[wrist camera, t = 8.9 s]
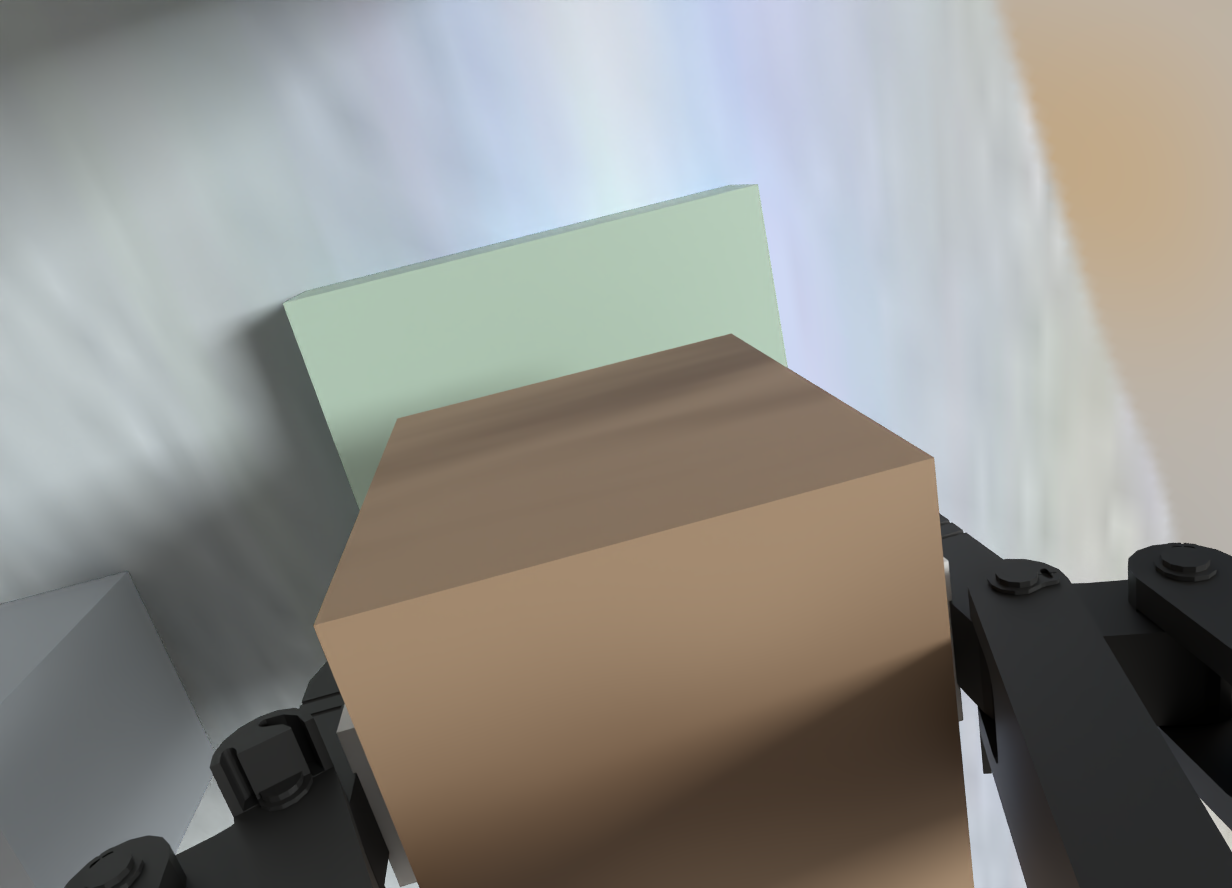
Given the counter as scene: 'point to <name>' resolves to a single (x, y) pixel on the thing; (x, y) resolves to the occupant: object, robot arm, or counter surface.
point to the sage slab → (533, 313)
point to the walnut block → (655, 636)
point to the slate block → (90, 732)
